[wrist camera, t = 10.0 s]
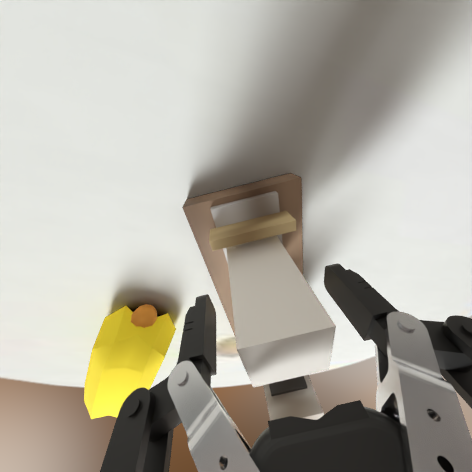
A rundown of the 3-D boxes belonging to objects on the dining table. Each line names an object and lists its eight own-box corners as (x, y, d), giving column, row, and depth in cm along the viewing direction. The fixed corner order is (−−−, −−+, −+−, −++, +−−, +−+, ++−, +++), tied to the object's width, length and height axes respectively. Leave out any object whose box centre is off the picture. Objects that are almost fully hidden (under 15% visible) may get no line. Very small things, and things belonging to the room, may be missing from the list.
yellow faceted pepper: (99, 367, 25) (151, 371, 28) (65, 433, 20) (135, 432, 22) (116, 288, 18) (185, 302, 20) (70, 356, 12) (173, 366, 15)
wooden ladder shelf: (290, 173, 14) (437, 234, 5) (298, 337, 27) (341, 438, 18) (186, 199, 14) (132, 308, 5) (244, 350, 27) (259, 456, 18)
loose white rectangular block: (273, 231, 13) (335, 326, 7) (278, 271, 16) (328, 374, 9) (225, 242, 13) (237, 349, 7) (237, 281, 16) (254, 390, 9)
